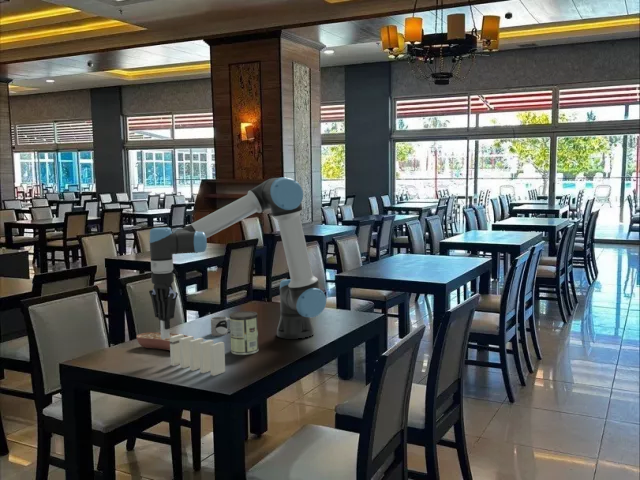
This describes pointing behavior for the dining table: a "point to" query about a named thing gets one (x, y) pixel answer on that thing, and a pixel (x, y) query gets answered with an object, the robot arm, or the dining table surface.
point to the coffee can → (244, 332)
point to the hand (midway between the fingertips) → (165, 337)
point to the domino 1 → (175, 349)
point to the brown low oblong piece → (154, 340)
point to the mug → (219, 326)
